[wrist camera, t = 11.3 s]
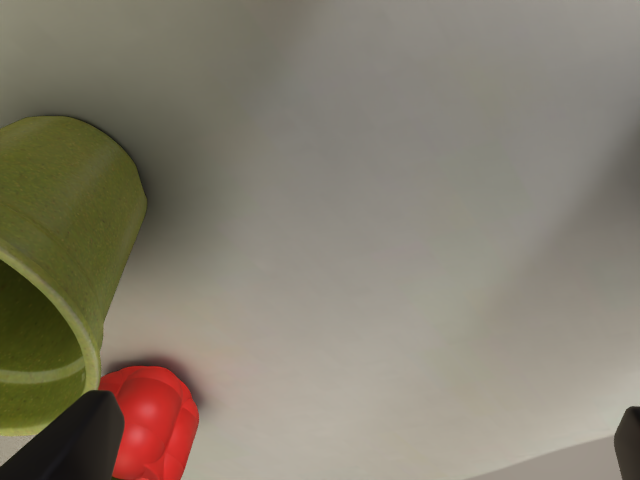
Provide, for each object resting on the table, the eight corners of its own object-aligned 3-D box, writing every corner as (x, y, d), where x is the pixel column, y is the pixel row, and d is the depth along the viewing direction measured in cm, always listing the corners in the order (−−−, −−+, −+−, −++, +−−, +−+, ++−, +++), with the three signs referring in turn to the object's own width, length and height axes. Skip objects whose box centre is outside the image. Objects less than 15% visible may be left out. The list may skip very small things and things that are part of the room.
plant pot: (129, 302, 25) (33, 471, 18) (-67, 193, 22) (-272, 343, 15) (230, 173, 20) (154, 333, 13) (-3, 12, 17) (-257, 108, 10)
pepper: (222, 376, 28) (185, 500, 22) (187, 431, 31) (148, 550, 26) (115, 334, 26) (48, 454, 21) (90, 396, 30) (27, 513, 24)
